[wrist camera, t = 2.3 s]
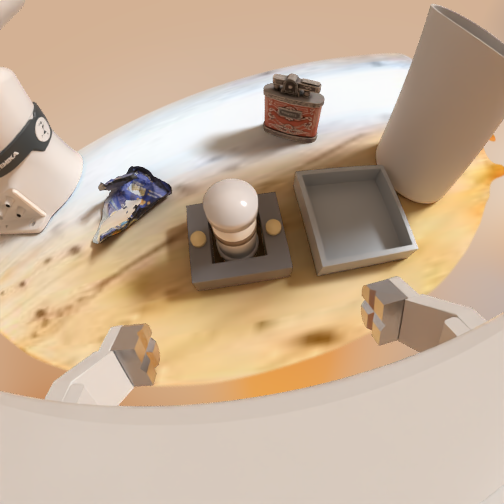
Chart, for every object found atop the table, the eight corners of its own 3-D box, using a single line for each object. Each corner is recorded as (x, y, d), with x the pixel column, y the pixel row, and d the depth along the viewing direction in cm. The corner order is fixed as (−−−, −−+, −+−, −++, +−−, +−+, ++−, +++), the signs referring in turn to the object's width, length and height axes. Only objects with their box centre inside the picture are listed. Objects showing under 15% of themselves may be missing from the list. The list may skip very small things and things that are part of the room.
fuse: (220, 268, 31) (205, 229, 22) (215, 231, 33) (201, 183, 24) (261, 261, 31) (262, 219, 23) (254, 225, 33) (253, 175, 24)
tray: (317, 276, 30) (322, 267, 28) (293, 186, 35) (295, 171, 32) (407, 258, 31) (418, 248, 28) (375, 178, 35) (382, 164, 33)
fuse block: (198, 291, 30) (190, 281, 27) (192, 218, 34) (185, 203, 30) (289, 276, 31) (293, 265, 27) (273, 205, 34) (275, 188, 31)
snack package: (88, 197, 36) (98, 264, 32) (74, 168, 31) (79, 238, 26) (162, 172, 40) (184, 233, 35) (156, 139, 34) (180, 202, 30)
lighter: (260, 132, 39) (260, 77, 30) (267, 119, 40) (268, 66, 31) (314, 146, 38) (325, 91, 28) (318, 131, 39) (329, 78, 30)
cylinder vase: (418, 220, 33) (525, 78, 10) (357, 157, 37) (410, -1, 14) (455, 184, 35) (535, 71, 12) (402, 131, 39) (453, 9, 16)
